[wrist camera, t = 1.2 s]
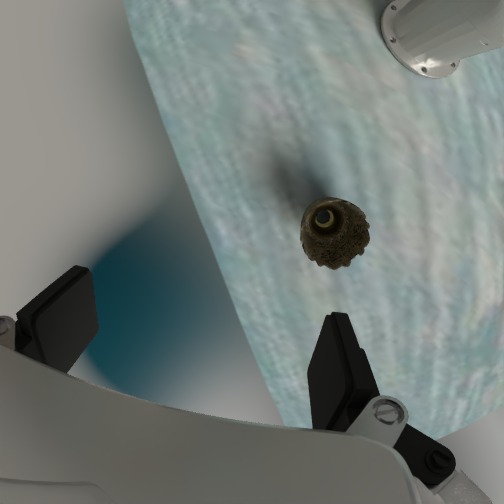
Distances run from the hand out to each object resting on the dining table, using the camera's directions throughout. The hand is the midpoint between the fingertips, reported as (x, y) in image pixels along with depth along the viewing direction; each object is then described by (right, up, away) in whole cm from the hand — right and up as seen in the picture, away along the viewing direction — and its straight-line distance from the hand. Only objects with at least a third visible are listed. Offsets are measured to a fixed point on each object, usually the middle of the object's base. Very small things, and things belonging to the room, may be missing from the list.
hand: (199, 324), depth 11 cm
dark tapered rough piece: (+11, +7, +27) cm, 30 cm away
